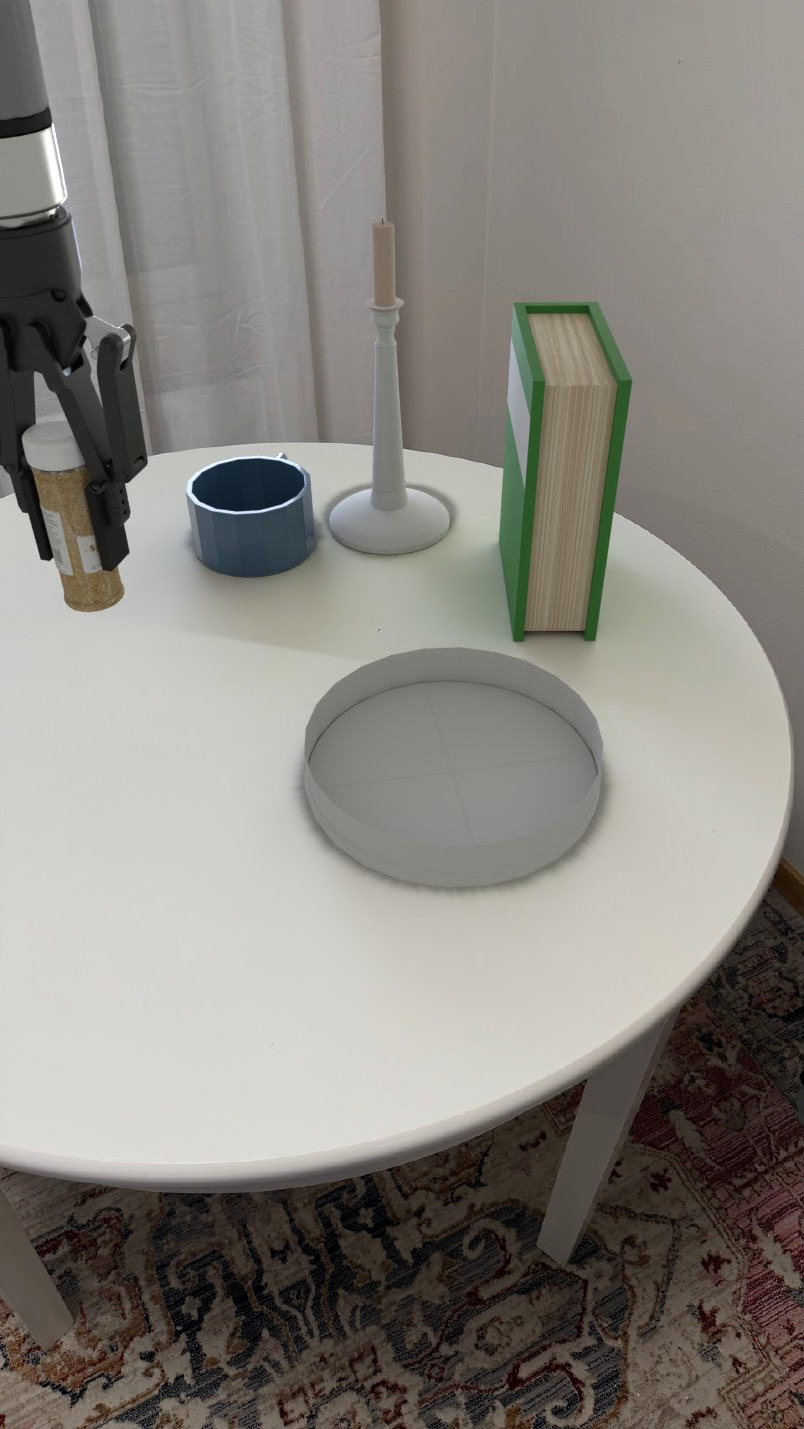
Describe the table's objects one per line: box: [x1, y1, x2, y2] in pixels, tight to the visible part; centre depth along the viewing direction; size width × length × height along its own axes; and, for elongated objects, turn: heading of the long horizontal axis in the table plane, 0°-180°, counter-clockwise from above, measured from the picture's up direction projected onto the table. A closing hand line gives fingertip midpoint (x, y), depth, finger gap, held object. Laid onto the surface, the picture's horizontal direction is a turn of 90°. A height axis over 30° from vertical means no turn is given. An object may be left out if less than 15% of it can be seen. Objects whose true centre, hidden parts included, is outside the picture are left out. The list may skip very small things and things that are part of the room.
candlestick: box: [328, 218, 451, 555], centre depth 97 cm, size 13×13×30 cm
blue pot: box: [185, 452, 316, 578], centre depth 103 cm, size 15×12×7 cm
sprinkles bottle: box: [22, 418, 126, 613], centre depth 72 cm, size 5×5×13 cm
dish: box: [303, 646, 604, 888], centre depth 75 cm, size 22×22×5 cm
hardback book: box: [498, 301, 633, 642], centre depth 90 cm, size 18×7×24 cm, turn 0°
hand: (85, 555), depth 74 cm, fingers closed on sprinkles bottle, 4 cm apart
